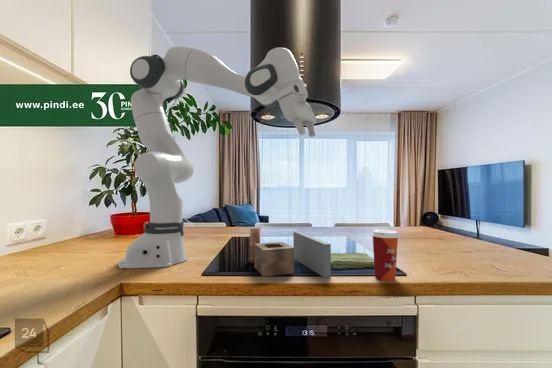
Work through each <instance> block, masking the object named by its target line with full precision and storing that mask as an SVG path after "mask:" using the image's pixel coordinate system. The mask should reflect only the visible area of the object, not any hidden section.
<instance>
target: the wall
mask: <svg viewBox="0 0 552 368" xmlns="http://www.w3.org/2000/svg"><path fill="white" fill-rule="evenodd" d="M292 238H293V240H292V241H293V244H292V245H293V246H292V247H293V248H294V260H295V261H297V262H299V263H300V264H302V265H303V266H305V267H307V268H308V269H309V270H311V271H313V272H314V273H316V274H318V275H320V276H321V277H322V278H325V279H327V278H331V269H332V268H331V253H332V252H331V250H332V249H331V247H332V246H331V244H332V243H329V242H327V241H324V240H321V239H319V238H316V237H314V236H311V235H308V234H306V233H303V232H301V231H298V230H297V231H293V237H292Z"/></svg>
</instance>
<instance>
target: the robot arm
mask: <svg viewBox="0 0 552 368" xmlns="http://www.w3.org/2000/svg"><path fill="white" fill-rule="evenodd" d="M294 57H295V56H294V54H292V52H291V51H290V49H288V48H287V47H275V48H274V47H273V48H272V49H271V50H269V51H268V52H267V54H266V56H265V57H264V59H263V60H262V61H261V62H260V63H259V64H258V65H257V66H255V67H254V68H251V69H250V70H249V71H248V72H247V74H246V75H243V74H239V73H237V72H235V71H233V70H231V69H230V68H229V67H228V66H227V65H225V64H224V63H223V62H222V61H221V60H220V59H218V58H217V57H216V56H214V55H212V54H211V53H208V52H206V51H204V50H201V49H198V48H197V49H196V48H192V47H187V46H172V47H170V48H169V49H168V50H167V51H166V52H165V55H164V57H162V56H160V55H159V54H152V55H143V56H142V55H141V56H139V57H137V58H136V59H134V60H133V61H132V62H131V65H130V68H129V75H130V77H131V80H132V81H133V82H134V83H135V84H136V85H137V86H138V87H140V89H138V90H136V91H135V92H134V93H132V95H131V97H130V106H131V111H132V112H131V113H132V116H133V117H132V118H133V121H134V123H135V126H136V130H137V133H138V137H139V139H140V142H141V144H142V145H143V146H144V147H145V148H146V149H148V152H143V153H141V154H139V155H138V156H137V158H136V159H135V160H134V161H135V162H134V167H133V168H134V174H135V175H136V176H137V178H138V179H140V180H141V182H142V183H143V185H144V187H145V190H146V192H147V196H148V200H149V221H145V222H144V223H143V233H142V234H141V235H139V237H137V238H136V239H134V240H133V241H132V242H131V243H129V245H128V246H127V249H126V251H125V252H126V253H125V257H123V258H121V259H120V260H119V261H118V264H117V265H118V268H120V269H122V268H124V269H125V268H126V269H148V268H151V269H152V268H169V267H170V266H173V265H176V264H179V263H182V262H184V261H186V260H187V259H188V255H187V253H186V249H185V244H184V243H185V242H184V234H185V224H184V222H185V221H184V220H183V199H182V197H181V196H180V194H179V193H178V192H177V188H176V185H175V184H180V183H183V182H186V181H189V179H191V178H192V176H193V174H194V165H193V163H192V161H191V160H190V159H188V156H186V155H185V154H184V152H183V150H182V149H181V147H180V146H179V144H178V143H177V140H176V139H175V136H174V135H173V133H172V129H171V126H170V124H169V122H168V117H167V115H166V112H165V109H164V104H168V105H169V104H170V103H171V102H172V101H175V100H176V99H179V97H180V96H182V94H183V93H184V90H185V83H184V80H185V81H188V82H192V83H194V84H200V85H203V86H209V87H210V86H211V87H215V88H220V89H225V90H228V91H229V90H230V91H233V92H236V93H239V94H242V95H245V96H248V97H249V98H250V97H251V98H253V99H254V100H256V101H257V102H258V103H259V104H260V105H261V106H262V107H265V108H273V107H276V106H277V105H279V107H280V110H281V111H282V114H283V116H284V118H285V119H286V121H288V122H292V123H293V125H294V127H295V128H296V130H297V132H298V135H300V136H303V135H305V134H306V133H307V134H308V136H309V137H310V138H313V137H316V132H315V126H314V125H315V124H317V119H316V116H315V113H314V111H313V109H312V108H313V107H311V105H310V103H308V102H307V99H308V97H309V93H308V91H307V87H306V85H305V83H304V80H303V79H302V78H301V76H300V69H299V66H298V64H297V62H296V59H295V58H294ZM304 126H306V129H307V131H308V132H306V129H305V127H304Z"/></svg>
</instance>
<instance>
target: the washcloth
mask: <svg viewBox="0 0 552 368" xmlns="http://www.w3.org/2000/svg"><path fill="white" fill-rule="evenodd" d="M365 267H374V257H372V256H370V255H369V254H368V253H364V252H344V253H340V252H339V253H336V252H331V269H333V270H348V269H347V268H354V269H366V268H365Z"/></svg>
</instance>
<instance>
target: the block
mask: <svg viewBox="0 0 552 368" xmlns="http://www.w3.org/2000/svg"><path fill="white" fill-rule="evenodd" d="M254 269H255V270H256V271H257V272H258V273H259V274H260V275H261V276H262V277H263V278H264V277H272V276H281V275H292V274H294V273H295V259H294V248H293V246H291V245H290V244H288V243H286V242H284V241H271V242H260V243H257V244H255V263H254Z"/></svg>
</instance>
